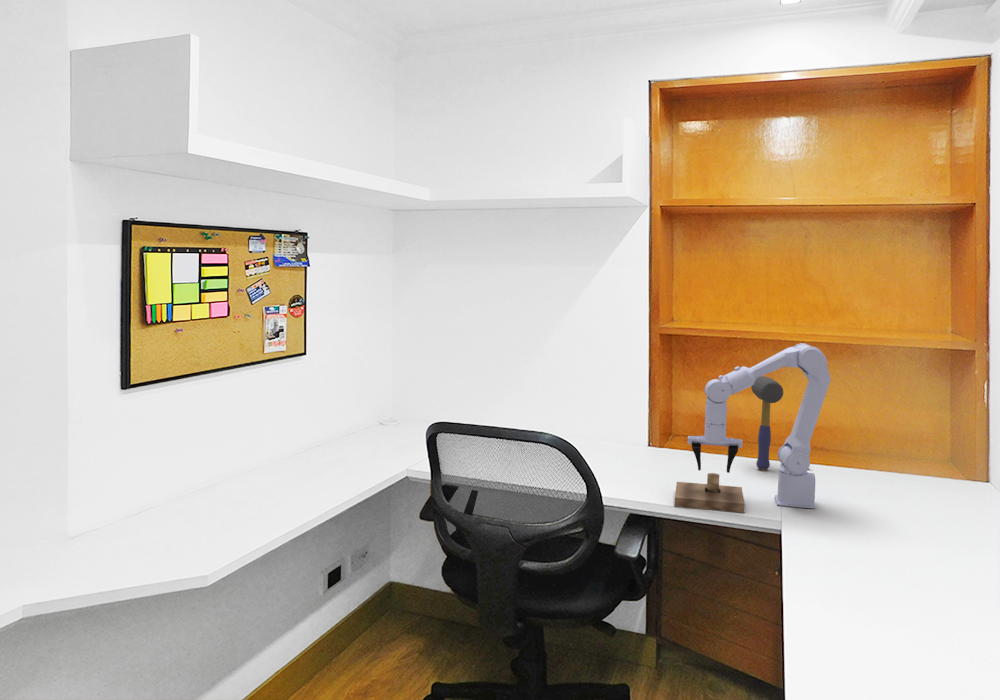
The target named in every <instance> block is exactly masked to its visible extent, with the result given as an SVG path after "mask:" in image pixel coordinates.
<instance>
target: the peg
mask: <svg viewBox="0 0 1000 700" xmlns="http://www.w3.org/2000/svg"><path fill="white" fill-rule="evenodd" d="M706 475H707V476H706V477H707V479H706V480H707V481H706V482H707V483H706V484H707V489H708V492H711V493H718V490H719V485H720V474H718V473H715V472H714V473H713V472H709V473H707V474H706Z"/></svg>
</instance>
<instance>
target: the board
mask: <svg viewBox="0 0 1000 700" xmlns="http://www.w3.org/2000/svg"><path fill="white" fill-rule="evenodd" d="M744 498H745V497H744V493H743V488H742V487H741V486H732V485H722V484H721V485H720V484H719V490H718V493H711V492H708V489H707V483H698V482H686V481H685V482H684V481H676V485H675V493H674V507H675V508H676V507H677V508H687V509H698V510H699V509H700V510H710V511H720V512H729V513H730V512H731V513H739V512H741V514H743V513H745V499H744ZM742 512H743V513H742Z"/></svg>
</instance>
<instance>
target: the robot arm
mask: <svg viewBox="0 0 1000 700" xmlns="http://www.w3.org/2000/svg"><path fill="white" fill-rule="evenodd" d="M827 363H828V359H827V357H826V356H825V354H824V353H823V352H822V351H821V350H820V349H819V348H817V347H816V346H812V345H809V344H808V343H803V342H802V343H797V344H795V345H794V346H790V347H786V348H785V349H782V350H781V351H779V352H777V353H775V354H774V355H772V356H770V357H768V358H767V359H764V360H763V361H761V362H759V363H757V364H755V365H754V366H751V367H747V366H744V365H743V366H741V367H740V366H739V365H737V366H736V367H734V368H733V369H734V370H733V371H730V372H729V373H727V374H724V375H722V374H720V375H718V379H717V378H715V379H714V378H713V379H711V380H709V381H708V382H707V383H706V384H705V387H704V388H703V390H704V394H705V396H706V400H705V403H706V404H705V409H704V410H705V411H704V412H705V415H704V435H688V436H687V445H691V449H692V451H693V454H694V457H695V459H696V463H697V470H698V471H701V469H702V462H701V454H702V445H703V446H704V445H705V446H716V447H717V446H718V447H719V446H720V447H727V463H726V474H728V473H729V474H730V472H731V467H732V464H733V461H734V459H735V457H736V455H737V453H738V452H739V448H740V449H742V448H743V443H744V442H743V439H742V438H741V439H739V438H732V437H727V417H728V416H727V415H728V406H727V402H728V401H727V400H728V399H729V398H730V396H733V395H735V394H737V393H739V392H742V391H744V390H746V389H747V388H749V387H750V388H751V386H752V385H754V382H755V380H756V378H758V377H761V376H765V375H767V374H770V373H773V372H775V371H777V370H780V369H781V368H783V367H784V368H793V369H794V368H795V369H798V368H799V369H800V370H801V371H802V373H803V374H804V376H805V377H806V379H807V380H808V382H807V385H806V388H805V391H804V393H803V396H802V398H801V399H802V400H801V402H800V405H799V408H798V411H797V415H796V418H795V420H794V424H793V427H792V429H791V432H790V435H788V436H787V437H786V438H785V441H784V444H783V445H782V446H781V447H779V449H778V450H777V458H778V461H779V462H780V463H781V464H780V466H779V467H778V478H777V479H778V481H777V483H778V484H777V494H775V495H774V500H775V502H776V505H777V506H781V507H793V508H794V507H795V508H802V509H803V508H804V509H815V499H816V476H815V473H814V472H808V470H809V468H810V465H811V461H810V460H811V459H810V454H811V452H812V451H811V449H812V447H811V440H812V437H813V434H814V431H815V427H816V424H817V422H818V419H819V416H820V413H821V409H822V407H823V404H824V401H825V398H826V396H827V395H826V394H827V392H828V390H829V386H830V383H831V374H830V372H829V367H828V364H827Z"/></svg>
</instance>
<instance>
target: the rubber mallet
mask: <svg viewBox="0 0 1000 700" xmlns="http://www.w3.org/2000/svg"><path fill="white" fill-rule="evenodd" d="M750 388H751V391H752V393H753V395H755V396H756V397H757V398H758V399H759V400H761V401H762V402H761V421H760V422H761V423H760V426H759V430H758V436H757V443H758V449H757V451H758V452H757V453H758V454H757V460H756V467H757V469H758V470H760V471H768V469H769V468H770V466H771V465H770V446H771V442H772V441H771V439H772V434H771V433H772V432H771V424H770V423H771V422H770V421H771V404H776V403H778V402H779V401H781V399H782V398H783V396H784V388H783V386H782V385H781V384H780V383H779V382H778V381H776V380H775V379H773V378H772V377H768V376H765V375H763V376H761V377H758V378H756V380H755V382H754V385H752V386H750Z"/></svg>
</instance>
